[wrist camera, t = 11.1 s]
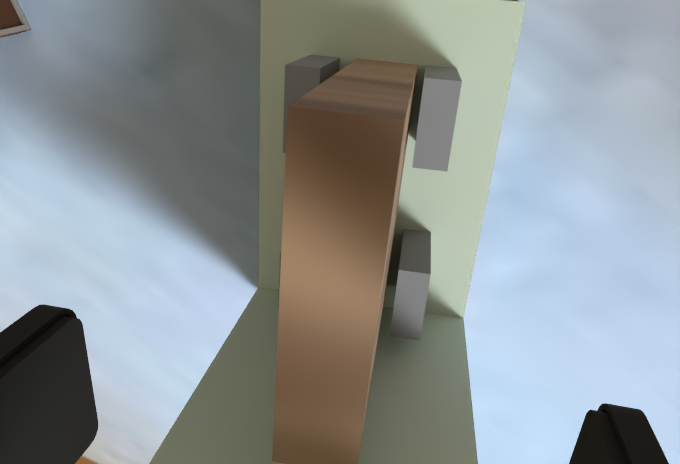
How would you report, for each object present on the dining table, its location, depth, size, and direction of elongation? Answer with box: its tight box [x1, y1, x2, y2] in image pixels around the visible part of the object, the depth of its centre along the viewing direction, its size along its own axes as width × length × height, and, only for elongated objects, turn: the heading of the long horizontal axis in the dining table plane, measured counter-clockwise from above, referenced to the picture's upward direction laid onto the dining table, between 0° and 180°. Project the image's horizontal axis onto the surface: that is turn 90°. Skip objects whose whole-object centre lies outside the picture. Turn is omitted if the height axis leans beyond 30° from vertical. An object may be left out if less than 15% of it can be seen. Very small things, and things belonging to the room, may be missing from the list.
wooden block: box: [272, 58, 418, 464], centre depth 18 cm, size 10×3×11 cm, turn 175°
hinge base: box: [149, 0, 526, 464], centre depth 16 cm, size 15×10×18 cm, turn 176°
